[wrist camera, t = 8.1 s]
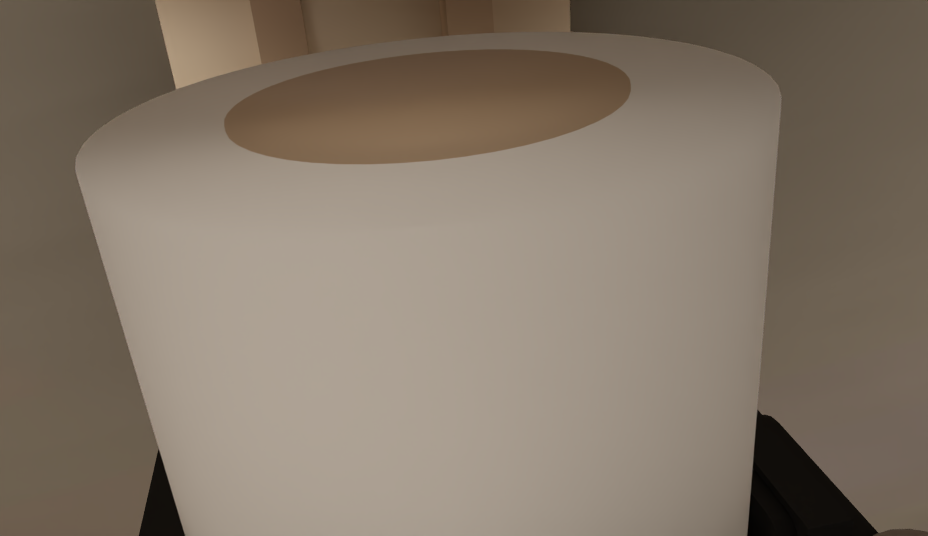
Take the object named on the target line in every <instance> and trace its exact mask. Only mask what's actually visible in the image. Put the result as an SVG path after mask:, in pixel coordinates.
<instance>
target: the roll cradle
mask: <svg viewBox="0 0 928 536" xmlns="http://www.w3.org/2000/svg"><path fill="white" fill-rule="evenodd" d="M155 2H156V7H157V11H158V15H159V19H160V23H161V28H162V32H163V36H164V40H165V44H166V49H167V53H168V57H169V61H170V65H171V70H172V74H173V78H174V82H175V86H176V89H179V88H182V87H185V86H188V85H191V84H194V83H197V82H200V81H203V80H206V79H209V78H213V77H216V76H220V75H223V74H227V73H230V72H233V71H237V70H241V69H245V68H249V67H253V66H257V65H261V64H265V63H270V62H274V61H279V60H284V59H288V58H293V57H298V56H303V55H308V54H313V53H319V52H324V51H330V50H336V49H342V48H348V47H355V46H361V45H369V44H376V43H383V42H391V41H400V40H409V39H418V38H428V37H439V36H451V35H466V34H482V33H505V32H571V28H570V0H155Z"/></svg>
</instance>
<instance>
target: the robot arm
mask: <svg viewBox="0 0 928 536" xmlns="http://www.w3.org/2000/svg"><path fill="white" fill-rule="evenodd" d="M139 536H185V534H184V530H183V527H182V524H181V520H180V517H179V514H178V510H177V507H176V504H175V500H174V497H173V494H172V490H171V487H170V484H169V480H168V477H167V474H166V471H165V467H164V464H163V461H162V457H161V454H160V451H159V450H158V454H157V458H156V463H155V467H154V472H153V476H152V480H151V485H150V489H149V493H148V498H147V502H146V507H145V511H144V515H143V520H142V524H141V529H140V533H139ZM747 536H928V532H926V531H920V530H914V529H892V530H887V531H884V532H881V533H878V532H877V531H876V530H875V529H874V528H873V527H872V526H871V524H870V523H869V522H868V521H867V520H866V519H865V518H864V517H863V516H862V514H861V513H860V512H859V511H858V510H857V509H856V508H855V507H854V506H853V504H852V503H851V502H850V501H849V500H848V499H847V498H846V497H845V496H844V495H843V493H842V492H841V491H840V490H839V489H838V488H837V487H836V486H835V485H834V483H833V482H832V481H831V480H830V479H829V478H828V477H827V476H826V475H825V473H824V472H823V471H822V470H821V469H820V468H819V467H818V466H817V465H816V464H815V462H814V461H813V460H812V459H811V458H810V457H809V456H808V455H807V454H806V452H805V451H804V450H803V449H802V448H801V447H800V446H799V445H798V444H797V443H796V441H795V440H794V439H793V438H792V437H791V436H790V435H789V434H788V433H787V431H786V430H785V429H784V428H783V427H782V426H781V425H780V424H779V423H778V422H777V421H776V420H775V419H774V418H772V417H771V416H768V415H762V414H761V413H760V412H759V411H758V410H757V418H756V431H755V444H754V456H753V469H752V482H751V494H750V507H749V520H748V532H747Z"/></svg>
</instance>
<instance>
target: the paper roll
mask: <svg viewBox="0 0 928 536" xmlns="http://www.w3.org/2000/svg"><path fill="white" fill-rule="evenodd" d="M781 101H782V98H781V94H780V90H779V86H778V85H777V83H776V82H775V81H774V80H773V79H772V77H771V76H770V75H769V74H768V73H766V72H765V71H763V70H762V69H760V68H759V67H758V66H756V65H754V64H752V63H750V62H748V61H746V60H743V59H741V58H739V57H737V56H734V55H731V54H728V53H725V52H721V51H718V50H715V49H711V48H707V47H703V46H698V45H694V44H689V43H684V42H678V41H672V40H666V39H659V38H650V37H642V36H632V35H620V34H608V33H586V32H505V33H482V34H466V35H451V36H439V37H428V38H418V39H409V40H400V41H391V42H383V43H376V44H369V45H361V46H355V47H348V48H342V49H336V50H330V51H324V52H319V53H313V54H308V55H303V56H298V57H293V58H288V59H284V60H279V61H274V62H270V63H265V64H261V65H257V66H253V67H249V68H245V69H241V70H237V71H233V72H230V73H227V74H223V75H220V76H216V77H213V78H209V79H206V80H203V81H200V82H197V83H194V84H191V85H188V86H185V87H182V88H179V89H176V90H174V91H171V92H169V93H166V94H163V95H161V96H158V97H156V98H153V99H151V100H149V101H147V102H145V103H142V104H140V105H138V106H136V107H134V108H132V109H130V110H128V111H126V112H124V113H123V114H121V115H119V116H117V117H116V118H114V119H112V120H111V121H109V122H108V123H106V124H105V125H104V126H102V127H101V128H99V129H98V130H97V131H95V132H94V133H93V134H92V135H91V136H90V137H89V138H88V139H87V140H86V141H85V143H84V144H83V145H82V147H81V149H80V150H79V152H78V154H77V156H76V164H75V172H76V175H77V178H78V182H79V185H80V188H81V192H82V195H83V198H84V202H85V205H86V208H87V211H88V215H89V218H90V221H91V225H92V228H93V231H94V235H95V238H96V241H97V245H98V248H99V251H100V255H101V258H102V261H103V265H104V268H105V271H106V275H107V278H108V281H109V285H110V288H111V291H112V295H113V298H114V301H115V304H116V308H117V311H118V314H119V318H120V321H121V324H122V328H123V331H124V334H125V338H126V341H127V344H128V348H129V351H130V354H131V358H132V361H133V364H134V368H135V371H136V374H137V378H138V381H139V384H140V387H141V391H142V394H143V397H144V401H145V404H146V407H147V411H148V414H149V417H150V421H151V424H152V427H153V431H154V434H155V437H156V441H157V444H158V447H159V451H160V454H161V457H162V461H163V464H164V467H165V471H166V474H167V477H168V480H169V484H170V487H171V490H172V494H173V497H174V500H175V504H176V507H177V510H178V514H179V517H180V520H181V524H182V527H183V530H184V534H185V536H747V532H748V520H749V507H750V494H751V482H752V469H753V456H754V444H755V431H756V418H757V406H758V393H759V380H760V368H761V355H762V342H763V329H764V317H765V304H766V291H767V279H768V266H769V253H770V241H771V228H772V215H773V203H774V190H775V177H776V164H777V152H778V139H779V126H780V114H781Z"/></svg>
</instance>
